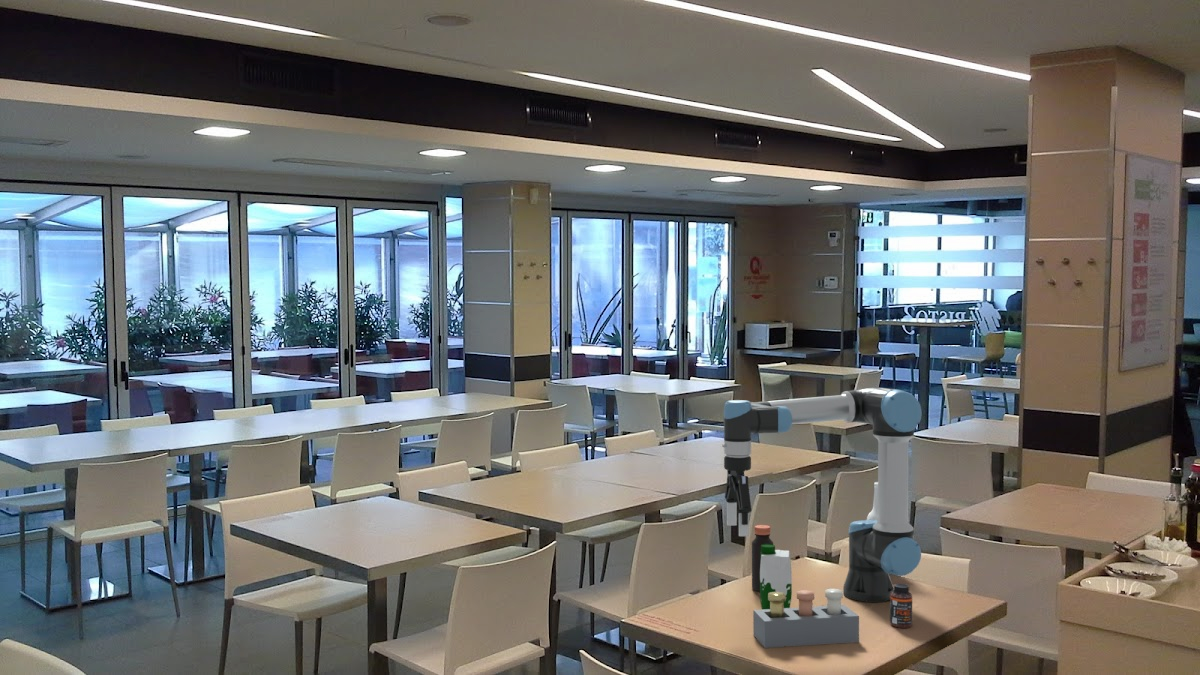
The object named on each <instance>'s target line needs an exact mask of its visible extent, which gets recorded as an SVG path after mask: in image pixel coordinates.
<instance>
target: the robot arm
mask: <svg viewBox="0 0 1200 675" xmlns="http://www.w3.org/2000/svg"><path fill="white" fill-rule="evenodd" d="M723 406H724V407H723V408H724V409H723V417H722V418H723V433H724V436H723V438H724V439H723V440H724V441H723V442H724V443H723V444H722V446H721V447H722V448H723V451H724V452H723V453H724V457H723V468H724V470H726V471H727V472H726V473H727V476H726V485H725V491H724V492H725V493H724V498H725V501H726V526H728V527H729V526H737V525H738V537H750V513H751V512H752V505H751V504H752V503H751V495H750V486H749V475H745V471H746V472H747V471H749V470H751V469H752V456H751V454H752V435H756V434H780V433H787V432H789V431H790V430H791V428H792V425H799V424H811V423H821V422H822V423H823V422H833V421H836V422H837V421H843V422H845V423H848V424H849V423H851V424H852V423H862V424H866V425H867V424H868V425H871V426H872V436H873V437H874V438H875V439H877V444H878V445H877V457H878V458H877V477H878V478H877V482H878V520H867V519H865V520H855V521H852V522H850V523H849V527H848V572H847V575H846V577H845V581H844V583H843V589H842V591H843V595H844V597H846V598H847V599H848V598H849V599H852V600H854V601H859V602H865V603H866V602H868V603H869V602H871V603H879V602H881V603H882V602H888V601H890V595H891V593H892V592H893V591H894V584H893V582H892V578H891V576H890V575H893V576H897V577H904V576H907V575H909V574H911V573H913V571H914V570H915V569H917V567H918V566H919V564H920V561H921V559H922V550H921V547H920V544H918V542H917V541H916V540H915V538H914V537H915V536H914V533H915V532H914V531H915V529H914V527H913V526H912V525H911V523H909V442H910V440H912V439H913V437H914V436H915V429H916V428H917V427H918V424H920V422H921V420H922V407H921V404H920V402H919V400H918V398H916V397H915V396H914V395H913V393H910V392H907V391H905V390H902V389H896V388H889V387H888V388H887V387H881V386H876V387H867V388H859V389H855V390H854V389H853V390H845V391H842V392H841V394H837V395H836V394H835V395H826V396H815V397H814V396H812V397H804V398H803V397H802V398H800V397H799V398H790V399H788V398H787V399H778V400H767V401H754V402H753V401H750V400H746V399H745V400H742V399H741V400H740V399H734V400H733V399H731V400H727V401H726V402H725V403H724V405H723ZM737 505H738V508H739V509H737ZM737 514H738V515H737ZM737 523H738V524H737Z"/></svg>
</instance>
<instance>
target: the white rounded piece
mask: <svg viewBox="0 0 1200 675" xmlns="http://www.w3.org/2000/svg"><path fill="white" fill-rule="evenodd" d="M824 591H825V592H824V597H825V598H826V606H827V615H836V614H841V605H842V599H843V597H844V596H843V595H844V594H843V589H838V588H828V589H825V590H824Z"/></svg>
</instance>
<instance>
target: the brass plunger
mask: <svg viewBox="0 0 1200 675" xmlns="http://www.w3.org/2000/svg"><path fill="white" fill-rule="evenodd" d="M768 600H769V601H770V618H784V601H786V594H785V593H782V592H770V593H768Z"/></svg>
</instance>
